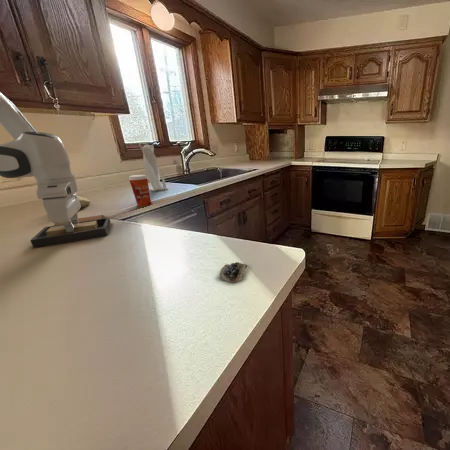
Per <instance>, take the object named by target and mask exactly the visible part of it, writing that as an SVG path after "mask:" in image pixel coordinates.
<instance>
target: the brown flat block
mask: <svg viewBox="0 0 450 450" xmlns="http://www.w3.org/2000/svg"><path fill="white" fill-rule="evenodd" d="M103 218H104V215H103V214H101V215H100V214H99V215H93V216H85V217H78V222H82V221H89V220H96V219H103ZM55 225H62V223H58V224H53V226H55Z"/></svg>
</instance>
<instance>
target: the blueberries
mask: <svg viewBox="0 0 450 450" xmlns="http://www.w3.org/2000/svg"><path fill="white" fill-rule="evenodd" d="M247 268H248V265H247V264H245V263H242V262H239V261H236V262H232V263H230V264H228V263H226V264H224V266H223V267H222V268H221V269H220V271H219V274H218V275H219V279H220V280H222V281H225V282H228V283H232V284H234V283H238V282H240V281H242V279H243V276H244V274H243V273H245V271H246V270H247Z"/></svg>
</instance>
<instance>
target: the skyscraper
mask: <svg viewBox="0 0 450 450" xmlns="http://www.w3.org/2000/svg"><path fill="white" fill-rule="evenodd" d="M141 144H143V145H144V146H142V145H141ZM138 145H139V147H140V149H141V152H142V153H143V154H142V156H143V161H142V162H143V167H144V171H145V173H146V174H145V175H146V176H147V177H148V178H147V180H148V182H149V183H150V187H149V191H152V192H157V193H158V192H161V191H166V190H168V187H167V185H166V181H165V180H166V179H165V176H164V173H163V170H162V169H160V166H159V162H158V159H157V157H156V154H155V153H154V151H155V147H154V145H151V144H148V143H147V142H139V143H138ZM161 183H162V184H161Z"/></svg>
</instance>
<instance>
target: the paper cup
mask: <svg viewBox="0 0 450 450" xmlns="http://www.w3.org/2000/svg"><path fill="white" fill-rule="evenodd" d="M128 181H129V184H130V186H131V189H132V193H133V196H134V199H135V202H136V205H137V206H138V207H148V206H151V205H152V198H151V193H150V187H149V179H148V176H147V174H134V175H129V176H128Z"/></svg>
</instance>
